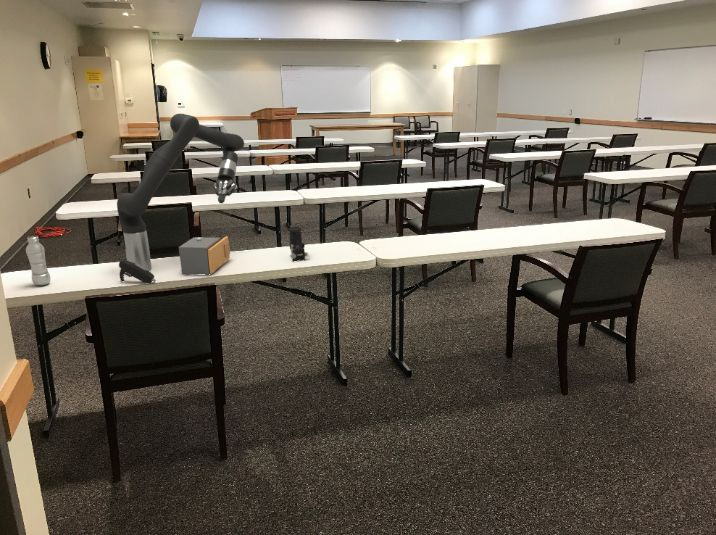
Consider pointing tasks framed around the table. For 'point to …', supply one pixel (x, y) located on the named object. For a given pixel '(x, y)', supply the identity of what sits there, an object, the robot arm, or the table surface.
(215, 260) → the side door
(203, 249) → the grey cabinet body
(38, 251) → the plastic bottle
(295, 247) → the scope
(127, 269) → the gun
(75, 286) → the table surface
